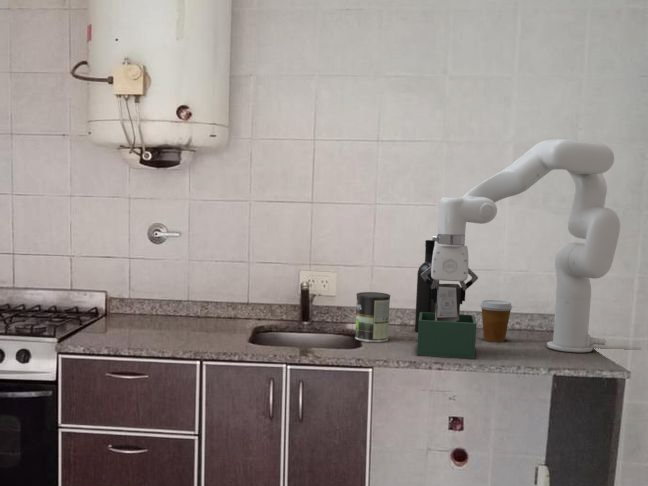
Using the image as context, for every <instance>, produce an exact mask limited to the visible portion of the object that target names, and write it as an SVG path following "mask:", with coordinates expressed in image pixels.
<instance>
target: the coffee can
mask: <svg viewBox="0 0 648 486" xmlns="http://www.w3.org/2000/svg"><path fill="white" fill-rule="evenodd" d="M390 303H391V294H389V293H386V292H379V291H377V292H375V291H362V292H357V293H356V305H355V306H356V309H355V334H354V335H355V336H354V340H356V341H358V342H359V341H360V342H365V343H385V342H388V341H389V328H390V327H389V326H390V325H389V324H390Z"/></svg>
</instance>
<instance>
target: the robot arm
mask: <svg viewBox="0 0 648 486" xmlns="http://www.w3.org/2000/svg"><path fill="white" fill-rule="evenodd" d="M614 163H615V154H614V152H613V150H612V148H610V146H608V145H607V144H605V143H599V142H592V141H591V142H590V141H583V140H575V139H568V138H555V139H546V140H542V141H540V142H538V143H536V144H535V145H534V146H532V147H531V148H530V149H528V150H527V151H525V153H523V154H522V155H521V156H519V157H518V158H517V159H516V160H514V162H512V163H511V164H510V165H508V166H507V167H505V168H504V169H503V170H500V171H499V172H497V173H495V174H493V175H492V176H490V177H488V178H486V179H484V180H483V181H481V182H479V183H478V184H476V185H475V186H474V187H472V188H471V189H470V190H468V191H467V192H466V193H465V194H463V195H462V196H461V197H459V196H444V197H442V198H440V200H439V205H438V222H437V223H438V224H437V225H438V226H437V234H436V235H432V239H431V240H432V241H435V243H436V244H435V246H434V250H433V256H432V266H431V267H429V268H428V269H427V270H426V271H424V272H423V273H422V274H421V277H422V278H423V279H424V280H425V282H426V283H427V284H428V285H429V286H430V287H431V288H432V294H431V299H433V300H434V303H435V302H436V295H437V289H436V285H437V283H438V281H439V282H440V281H443V282H458V283H459V285H460V287H461V297H460V305H463V302H466V291H467V289H469V288H470V287H471V286H473V284H474V283H475V282H476V281H478V280H479V276H478V275H477V274H476V273H475V272H474V271H473V270H472V269H471V268H470V267H469V249H468V248H469V247H468V246H467V245H466V228H467V225H466V224H467V223H473V224H484V225H485V224H488V223H490V222H491V221H493V220H494V219H495V218H496V217H497V214H498V206H497V204H496V203H497V202H498V201H501V200H504V199H506V198H510V197H514V196H516V195H520V194H522V193H525V192H526V191H528V190H529V189H530V188H531V187H532V186H534V185H535V184H536V183H537V182H539V181H540V180H541V179H543V178H544V177H545V176H546V175H547V174H549V173H550V172H551V171H553V170H564V171H567V172H568V173H569V176H571V179H572V180H573V182H574V195H573V200H572V205H571V208H570V212H569V217H568V222H567V230H568V233H569V234H570V235H571V236H573V237H574V238H577V239H581V240H584V243H582V242H568V243H564V244H563V245H562V246H560V247H559V248H558V250H557V251H556V254H555V257H554V267H555V273H556V274H555V276H556V290H555V304H554V305H555V306H554V320H553V334H552V341H551V340H550V341H548V342H547V343H546V347H547V348H548V349H551V350H555V351H559V352H565V353H566V352H567V353H590V352H592V351H593V350H594V347H593V346H594V345H598V346H605V345H606V338H602V337H601V338H599V337H594V336H591V334H589V326H590V315H591V314H590V312H591V301H592V285H591V284H592V283H591V280H590V279H600V278H603V277H604V276H606V275H607V274H608V273H609V271H610V270H611V267H612V265H613V261H614V258H615V253H616V249H617V246H618V241H619V237H620V233H621V221H620V217H619V215H618V214H617V213H616V211H614V209H611V208H609V207H605V204H606V198H607V194H608V193H607V190H608V187H607V186H608V185H607V182H606V179H605V176H604V173H607V172H608V171H609V170H610V169H611V168H612V167H613V165H614ZM430 272H431V277H432V278H433V279H434V281H433V282H432V281H431V280H430V279H429V278H428V277H427V275H428V274H429V273H430ZM469 276H470V277H471V278H470V279H469V280H468V278H469ZM465 281H467V282H465Z"/></svg>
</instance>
